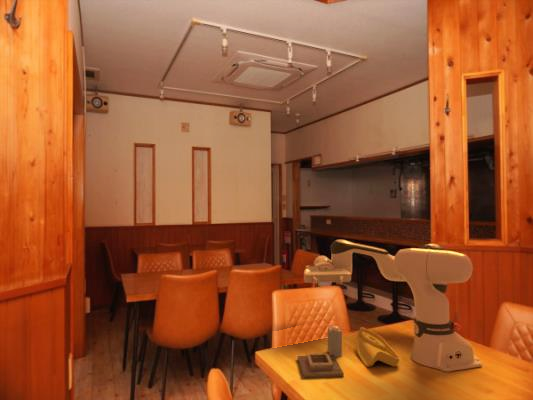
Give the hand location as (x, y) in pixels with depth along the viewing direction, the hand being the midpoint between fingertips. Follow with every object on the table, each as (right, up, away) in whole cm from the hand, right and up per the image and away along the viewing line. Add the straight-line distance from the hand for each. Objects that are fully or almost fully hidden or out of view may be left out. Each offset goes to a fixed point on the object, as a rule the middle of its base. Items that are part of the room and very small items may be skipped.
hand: (329, 282), depth 151 cm
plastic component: (+14, -23, -19) cm, 33 cm away
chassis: (-8, -23, -27) cm, 36 cm away
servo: (0, -23, -16) cm, 28 cm away
